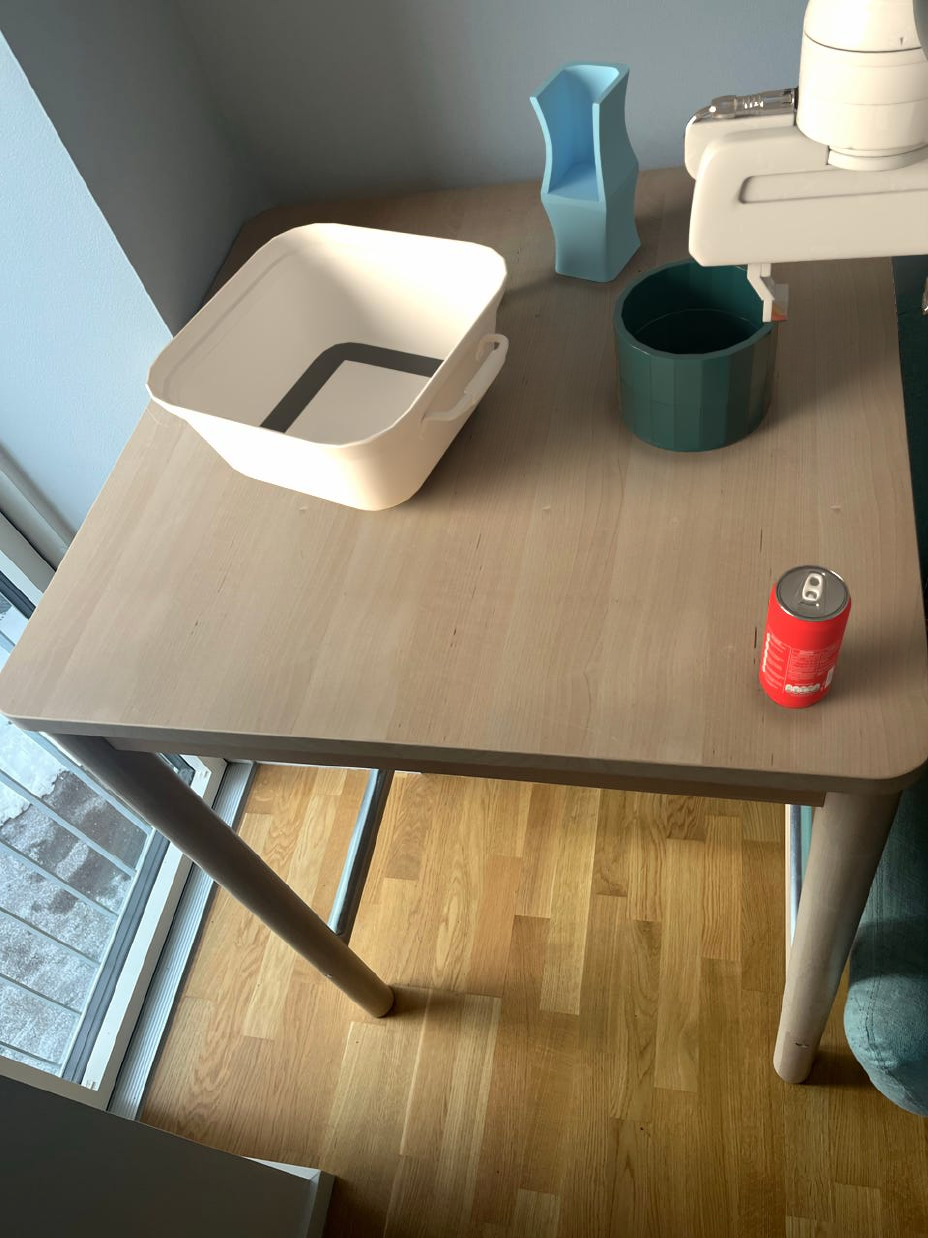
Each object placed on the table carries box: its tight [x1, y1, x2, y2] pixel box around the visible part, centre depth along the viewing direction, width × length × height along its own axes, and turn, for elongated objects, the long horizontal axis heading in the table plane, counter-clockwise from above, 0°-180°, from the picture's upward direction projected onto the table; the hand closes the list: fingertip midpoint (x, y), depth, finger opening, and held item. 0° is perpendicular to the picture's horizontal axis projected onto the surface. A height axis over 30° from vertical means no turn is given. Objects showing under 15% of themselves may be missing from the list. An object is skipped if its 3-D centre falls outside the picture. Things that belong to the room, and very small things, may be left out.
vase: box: [529, 59, 642, 283], centre depth 99 cm, size 8×8×20 cm
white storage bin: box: [145, 222, 510, 512], centre depth 90 cm, size 34×29×15 cm
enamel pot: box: [611, 257, 781, 453], centre depth 86 cm, size 15×15×11 cm
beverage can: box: [758, 564, 852, 710], centre depth 66 cm, size 5×5×12 cm
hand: (852, 313), depth 58 cm, fingers open, 8 cm apart
